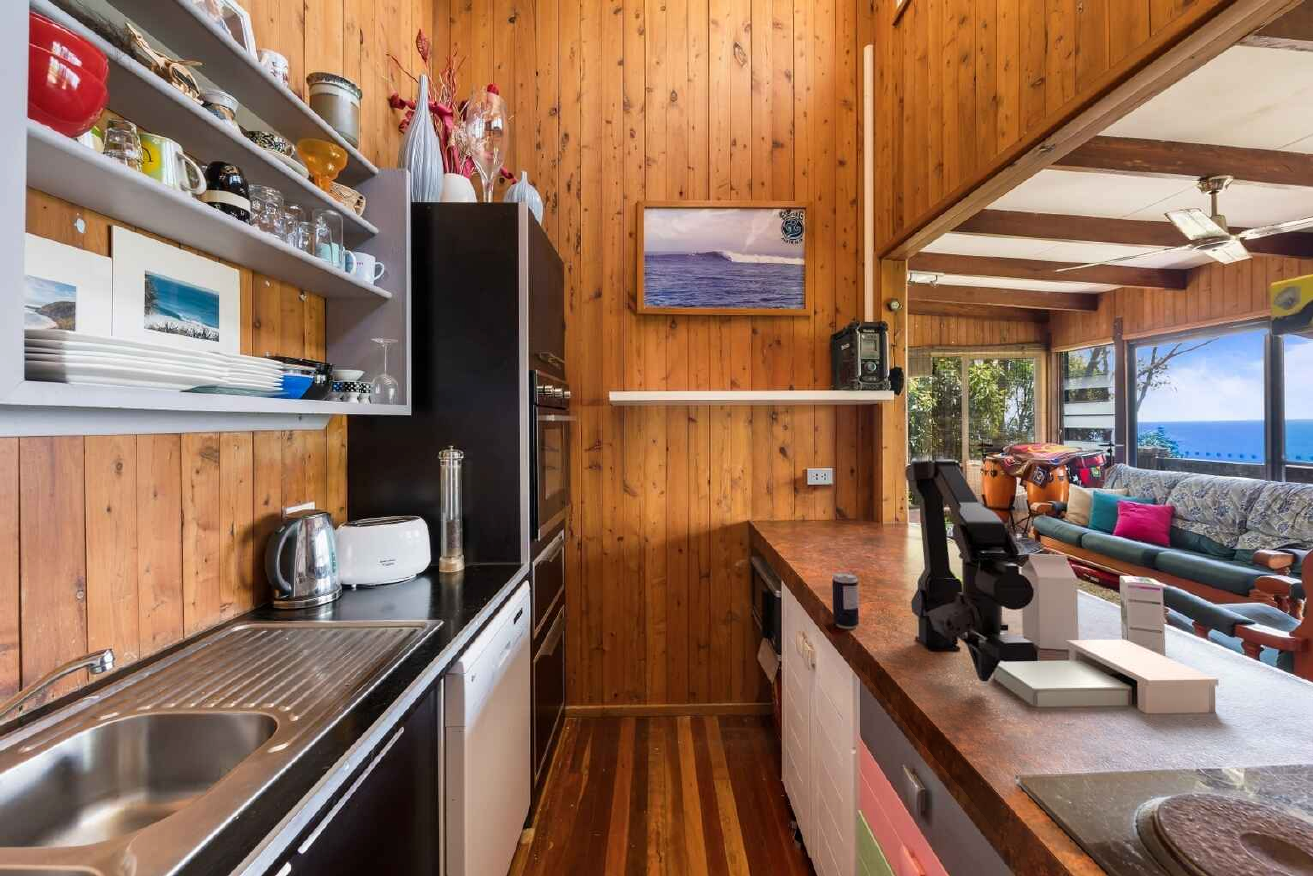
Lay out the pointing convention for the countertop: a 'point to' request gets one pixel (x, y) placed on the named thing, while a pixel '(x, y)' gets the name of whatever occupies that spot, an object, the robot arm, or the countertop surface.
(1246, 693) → the countertop surface
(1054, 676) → the cream rectangular slab
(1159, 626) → the syrup box
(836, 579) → the beverage can
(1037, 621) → the milk carton
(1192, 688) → the overhang
